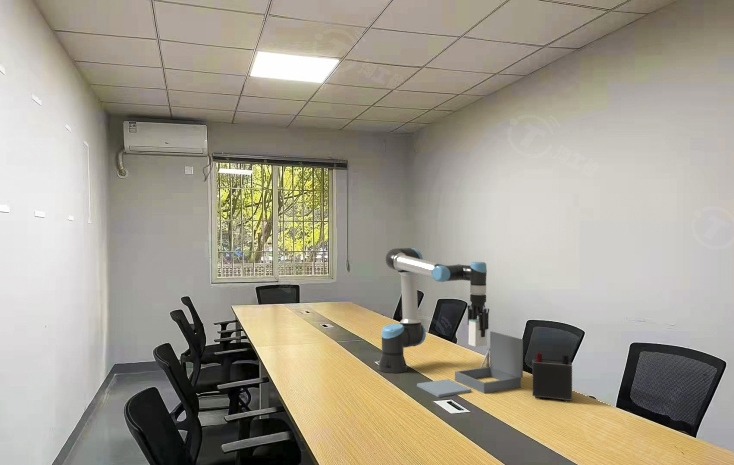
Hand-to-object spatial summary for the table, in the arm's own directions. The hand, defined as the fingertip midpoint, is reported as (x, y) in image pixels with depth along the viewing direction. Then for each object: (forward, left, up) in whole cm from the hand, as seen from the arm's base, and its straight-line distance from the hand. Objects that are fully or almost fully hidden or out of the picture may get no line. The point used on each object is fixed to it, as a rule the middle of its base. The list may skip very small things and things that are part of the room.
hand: (477, 342), depth 237 cm
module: (0, 0, -1) cm, 1 cm away
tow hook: (-17, +20, -21) cm, 34 cm away
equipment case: (+1, +5, -20) cm, 21 cm away
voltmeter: (+27, +20, -21) cm, 39 cm away
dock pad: (-1, -19, -20) cm, 28 cm away
